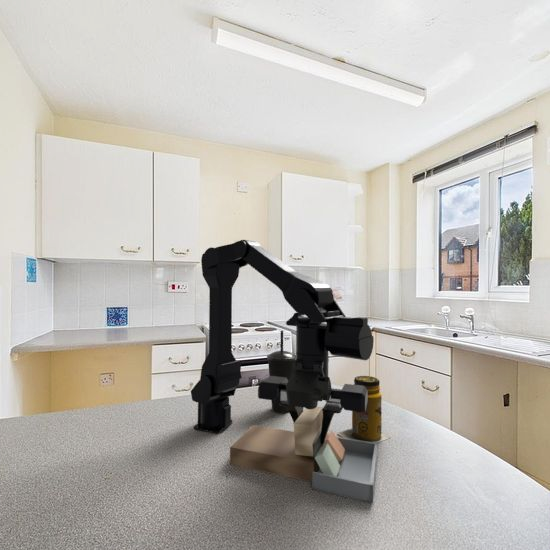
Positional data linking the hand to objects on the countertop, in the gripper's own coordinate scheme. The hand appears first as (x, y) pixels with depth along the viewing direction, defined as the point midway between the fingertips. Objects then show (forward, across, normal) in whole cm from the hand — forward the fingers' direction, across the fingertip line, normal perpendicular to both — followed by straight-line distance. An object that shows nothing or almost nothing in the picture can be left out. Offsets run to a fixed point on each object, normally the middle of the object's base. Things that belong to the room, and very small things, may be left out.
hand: (311, 441), depth 59 cm
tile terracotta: (+2, +3, +3) cm, 5 cm away
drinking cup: (+4, -14, +23) cm, 27 cm away
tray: (+4, +6, 0) cm, 8 cm away
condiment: (+4, +7, +15) cm, 17 cm away
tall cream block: (0, 0, 0) cm, 0 cm away
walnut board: (+4, -6, 0) cm, 7 cm away
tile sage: (+2, +3, -3) cm, 4 cm away
